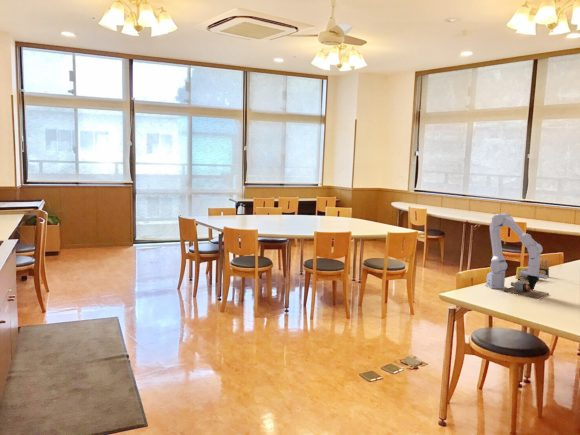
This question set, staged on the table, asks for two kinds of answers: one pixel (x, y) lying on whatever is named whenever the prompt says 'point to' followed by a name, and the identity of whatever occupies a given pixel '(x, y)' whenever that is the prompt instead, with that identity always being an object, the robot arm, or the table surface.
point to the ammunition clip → (544, 267)
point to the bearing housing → (520, 286)
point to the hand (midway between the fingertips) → (531, 289)
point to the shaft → (526, 287)
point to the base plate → (527, 293)
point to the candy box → (521, 274)
